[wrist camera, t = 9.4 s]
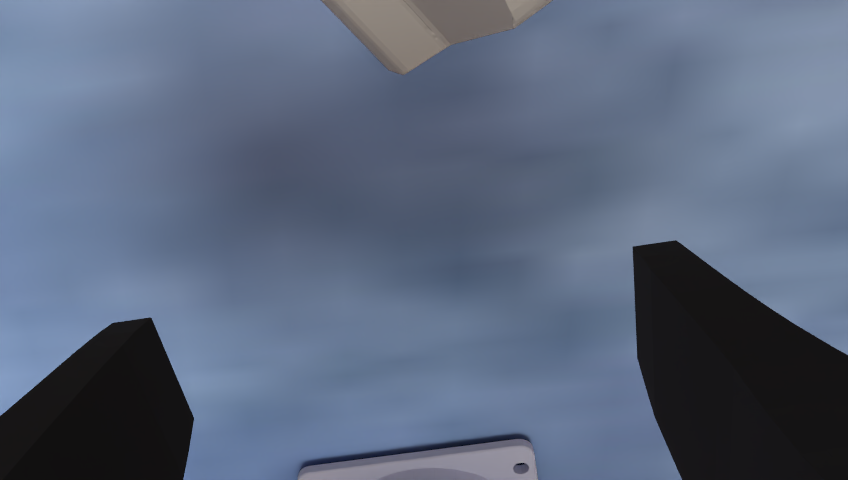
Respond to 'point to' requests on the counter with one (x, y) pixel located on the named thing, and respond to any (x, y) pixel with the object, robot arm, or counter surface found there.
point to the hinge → (426, 25)
